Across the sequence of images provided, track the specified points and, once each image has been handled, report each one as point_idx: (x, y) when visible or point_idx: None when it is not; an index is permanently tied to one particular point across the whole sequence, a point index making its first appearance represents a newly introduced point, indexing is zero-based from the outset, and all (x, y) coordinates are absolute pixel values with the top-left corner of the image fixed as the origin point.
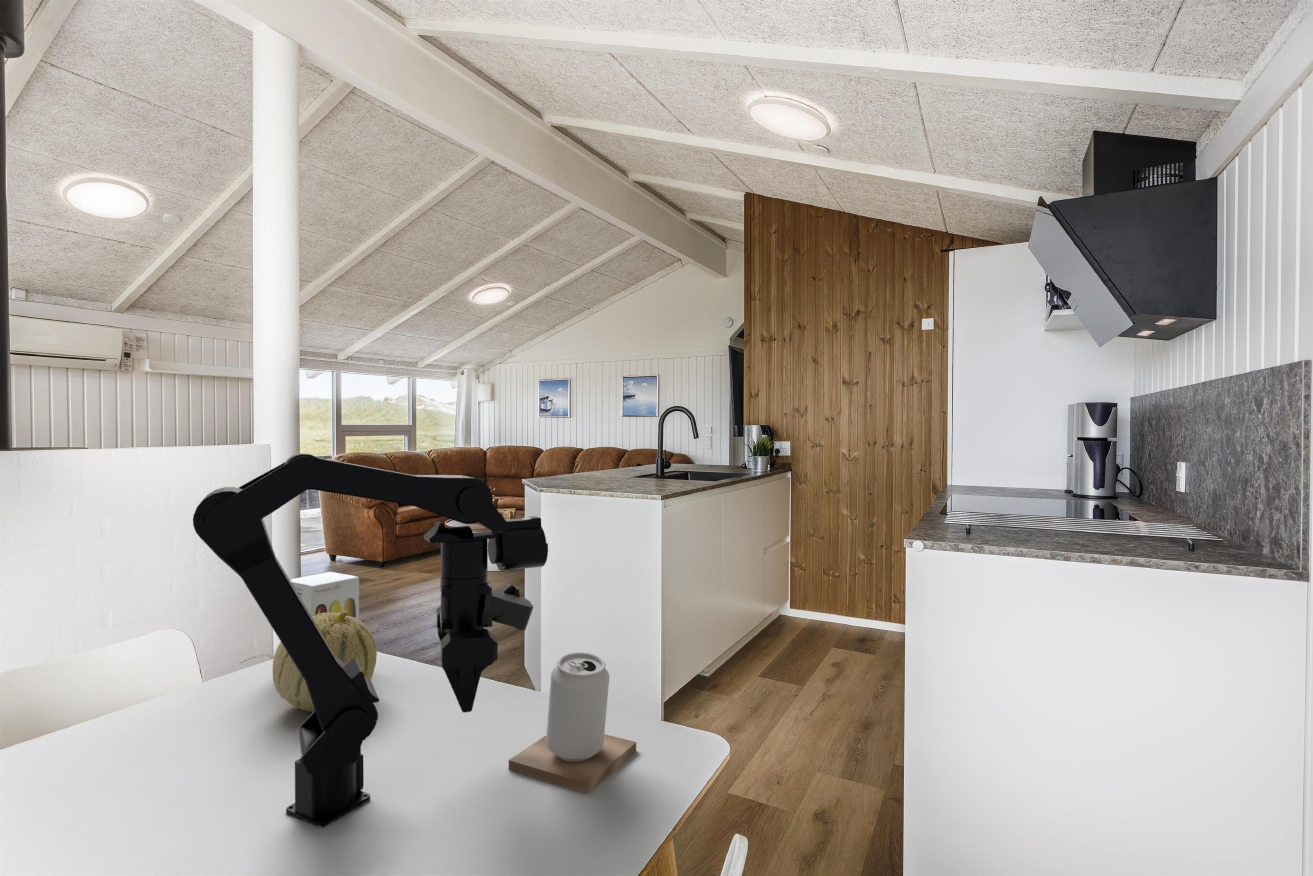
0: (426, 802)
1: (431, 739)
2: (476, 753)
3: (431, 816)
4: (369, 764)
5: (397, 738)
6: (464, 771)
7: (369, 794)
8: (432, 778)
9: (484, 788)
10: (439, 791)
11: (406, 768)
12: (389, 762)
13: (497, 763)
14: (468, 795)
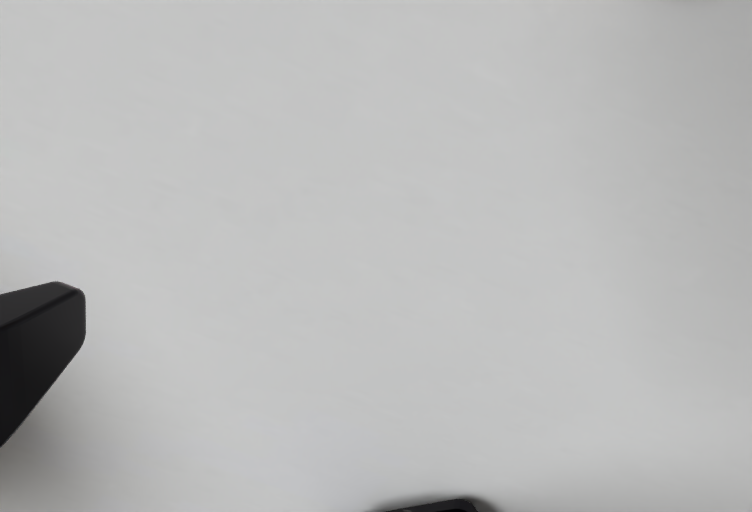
0: (618, 387)
1: (109, 176)
2: (332, 58)
3: (739, 415)
4: (218, 407)
5: (58, 273)
6: (473, 176)
7: (458, 509)
8: (446, 300)
9: (703, 167)
10: (571, 322)
11: (309, 337)
12: (234, 360)
13: (502, 4)
14: (703, 250)
